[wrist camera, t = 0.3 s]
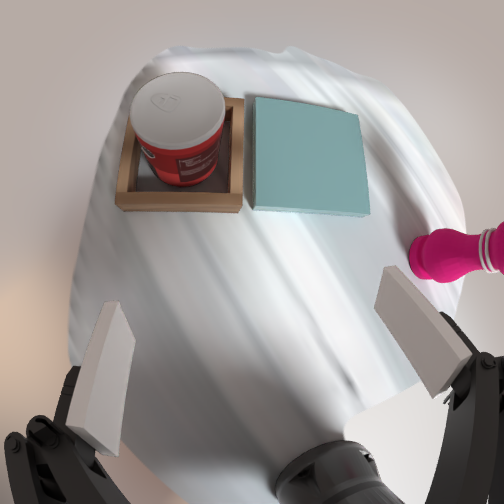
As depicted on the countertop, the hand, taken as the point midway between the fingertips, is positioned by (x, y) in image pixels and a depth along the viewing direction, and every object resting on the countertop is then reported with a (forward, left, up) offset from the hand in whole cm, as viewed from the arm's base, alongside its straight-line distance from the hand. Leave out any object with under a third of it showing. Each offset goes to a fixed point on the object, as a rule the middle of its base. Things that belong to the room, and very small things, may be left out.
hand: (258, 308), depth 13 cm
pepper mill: (+4, -28, -17) cm, 33 cm away
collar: (+15, +5, -17) cm, 23 cm away
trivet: (+16, -10, -17) cm, 25 cm away
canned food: (+15, +5, -17) cm, 23 cm away
